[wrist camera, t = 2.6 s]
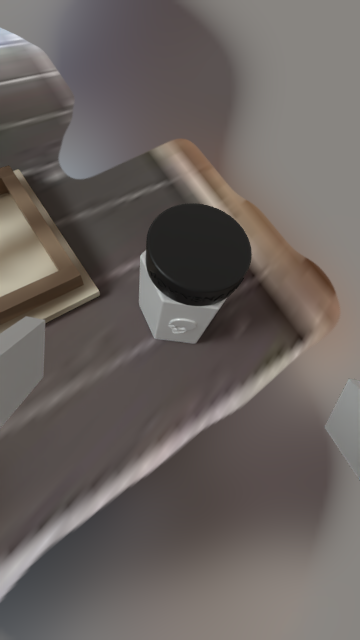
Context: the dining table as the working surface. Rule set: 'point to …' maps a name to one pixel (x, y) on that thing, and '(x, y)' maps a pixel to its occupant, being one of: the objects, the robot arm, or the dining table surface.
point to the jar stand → (35, 259)
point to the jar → (190, 269)
